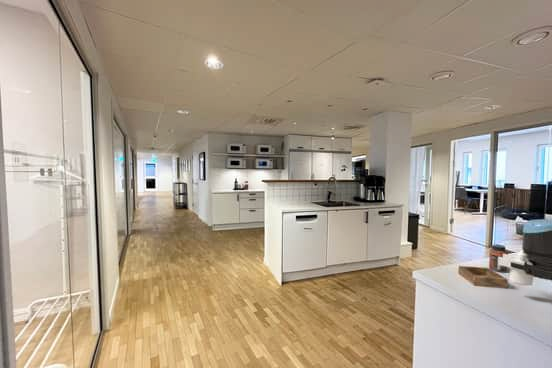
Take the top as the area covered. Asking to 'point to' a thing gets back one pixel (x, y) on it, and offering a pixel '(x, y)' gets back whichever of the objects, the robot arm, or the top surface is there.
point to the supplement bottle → (497, 258)
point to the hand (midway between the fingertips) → (501, 259)
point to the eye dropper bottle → (520, 271)
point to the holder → (482, 277)
